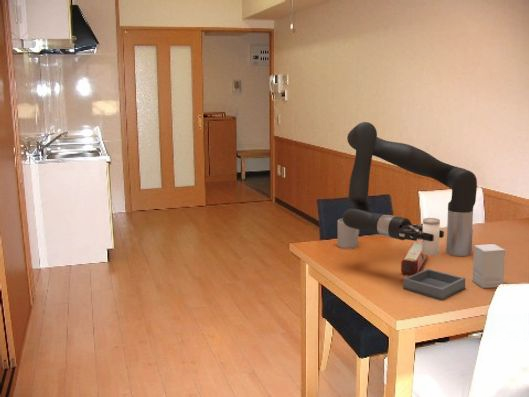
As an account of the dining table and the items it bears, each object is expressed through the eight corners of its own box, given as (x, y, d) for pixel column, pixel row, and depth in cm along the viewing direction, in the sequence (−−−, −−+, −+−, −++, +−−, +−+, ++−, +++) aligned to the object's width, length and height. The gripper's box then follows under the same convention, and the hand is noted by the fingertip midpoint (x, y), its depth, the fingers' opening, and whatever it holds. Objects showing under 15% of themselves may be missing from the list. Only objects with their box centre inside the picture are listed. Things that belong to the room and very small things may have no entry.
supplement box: (503, 287, 178) (506, 249, 175) (481, 288, 177) (483, 251, 175) (492, 279, 185) (494, 243, 182) (471, 280, 184) (473, 244, 182)
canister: (427, 249, 181) (428, 217, 178) (441, 252, 177) (443, 219, 175) (418, 252, 177) (419, 219, 175) (432, 256, 173) (433, 222, 171)
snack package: (418, 277, 190) (419, 258, 188) (399, 275, 193) (399, 256, 191) (428, 259, 209) (428, 242, 207) (410, 257, 211) (411, 240, 210)
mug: (350, 250, 222) (350, 223, 220) (333, 246, 228) (333, 220, 226) (366, 243, 231) (367, 218, 229) (350, 240, 237) (350, 215, 234)
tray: (427, 278, 188) (427, 268, 187) (465, 288, 178) (465, 278, 177) (403, 288, 179) (403, 278, 178) (441, 300, 169) (442, 289, 168)
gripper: (381, 220, 181) (425, 229, 169) (406, 212, 190) (450, 220, 178) (380, 241, 183) (425, 252, 170) (406, 233, 192) (449, 243, 179)
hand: (438, 236), depth 174 cm, fingers closed on canister, 5 cm apart
